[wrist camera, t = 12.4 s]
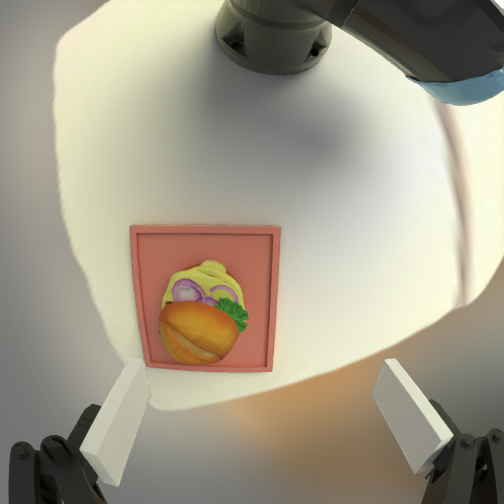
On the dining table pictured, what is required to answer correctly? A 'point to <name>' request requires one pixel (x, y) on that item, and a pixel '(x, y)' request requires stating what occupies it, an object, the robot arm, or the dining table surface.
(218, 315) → the cheeseburger
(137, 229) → the tray
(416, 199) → the dining table surface
